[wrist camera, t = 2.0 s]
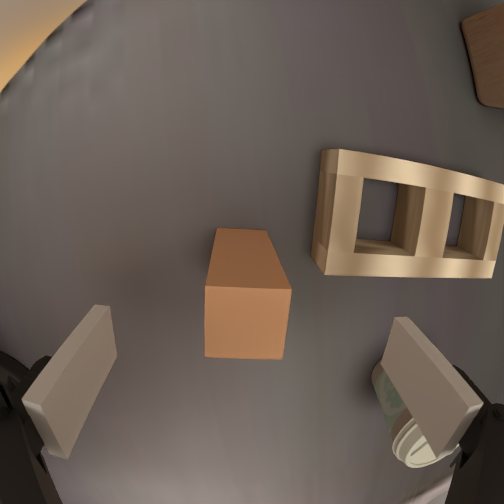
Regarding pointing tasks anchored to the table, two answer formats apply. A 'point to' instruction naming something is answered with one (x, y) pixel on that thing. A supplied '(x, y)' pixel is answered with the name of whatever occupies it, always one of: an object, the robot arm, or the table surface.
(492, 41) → the block
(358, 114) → the table surface
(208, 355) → the peg
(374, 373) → the coffee cup
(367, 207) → the table surface
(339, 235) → the socket block
